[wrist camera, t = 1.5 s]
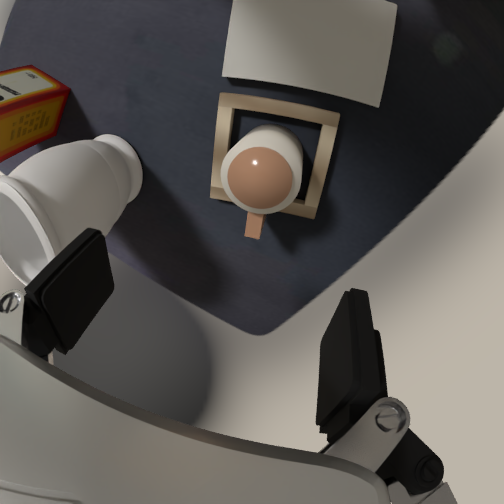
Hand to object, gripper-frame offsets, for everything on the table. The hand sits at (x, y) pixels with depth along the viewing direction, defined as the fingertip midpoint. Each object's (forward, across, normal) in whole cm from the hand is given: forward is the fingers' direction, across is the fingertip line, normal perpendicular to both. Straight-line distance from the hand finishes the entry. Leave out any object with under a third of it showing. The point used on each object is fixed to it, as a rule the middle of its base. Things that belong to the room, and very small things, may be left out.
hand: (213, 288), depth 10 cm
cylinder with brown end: (+18, 0, +1) cm, 18 cm away
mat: (+17, -1, -12) cm, 21 cm away
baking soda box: (+18, +29, -5) cm, 35 cm away
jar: (+18, +17, +4) cm, 25 cm away
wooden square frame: (+18, 0, 0) cm, 18 cm away
